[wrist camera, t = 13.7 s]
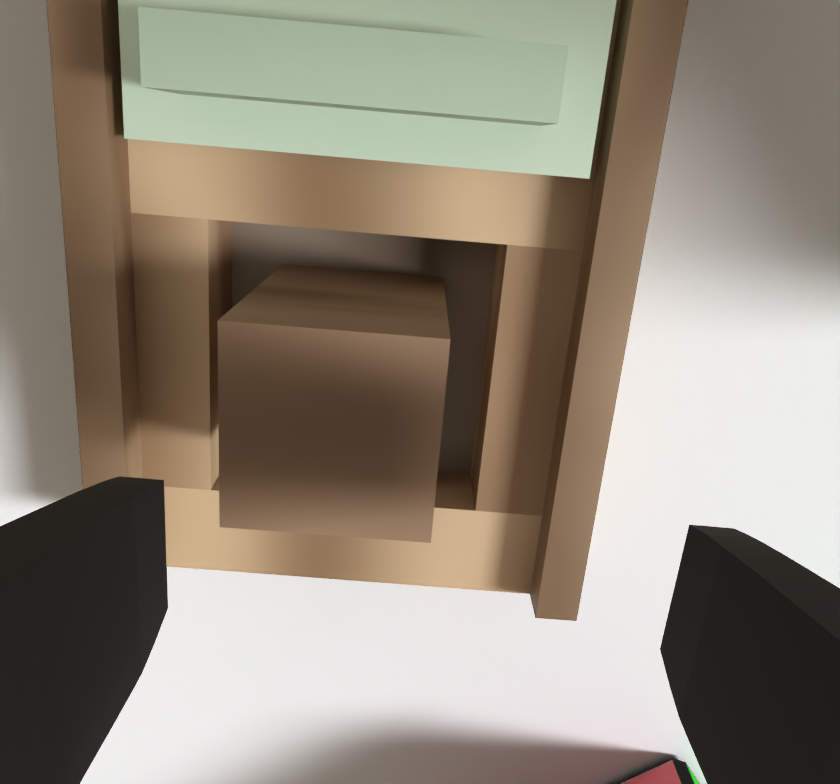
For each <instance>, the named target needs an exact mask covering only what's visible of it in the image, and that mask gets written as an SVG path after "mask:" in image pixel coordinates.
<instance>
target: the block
mask: <svg viewBox="0 0 840 784" xmlns="http://www.w3.org/2000/svg"><path fill="white" fill-rule="evenodd" d="M217 325H218V425H219V524H220V527H224V528H237V529H250V530H264V531H277V532H291V533H304V534H317V535H331V536H344V537H358V538H371V539H384V540H398V541H411V542H425V543H431V536H432V526H433V515H434V505H435V495H436V484H437V474H438V464H439V454H440V443H441V433H442V423H443V412H444V402H445V392H446V381H447V371H448V361H449V350H450V340H451V339H450V331H449V322H448V314H447V306H446V298H445V290H444V282H443V278H442V277H430V276H417V275H405V274H393V273H380V272H368V271H356V270H344V269H331V268H319V267H307V266H295V265H281V266H280V267H279V268H278V269H277V270H276V271H274V272H273V273H272V274H271V275H270V276H269V277H268V278H266V279H265V280H264V281H263V282H262V283H261V284H259V285H258V286H257V287H256V288H255V289H254V290H252V291H251V292H250V293H249V294H248V295H247V296H245V297H244V298H243V299H242V300H241V301H240V302H238V303H237V304H236V305H235V306H234V307H233V308H232V309H230V310H229V311H228V312H227V313H226V314H225V315H223V316H222V317H221V318H220V319H219V320H218V321H217Z"/></svg>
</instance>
